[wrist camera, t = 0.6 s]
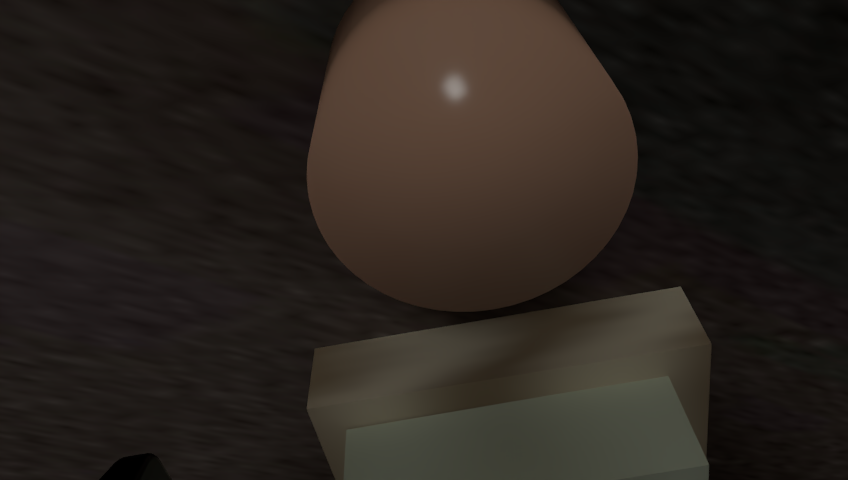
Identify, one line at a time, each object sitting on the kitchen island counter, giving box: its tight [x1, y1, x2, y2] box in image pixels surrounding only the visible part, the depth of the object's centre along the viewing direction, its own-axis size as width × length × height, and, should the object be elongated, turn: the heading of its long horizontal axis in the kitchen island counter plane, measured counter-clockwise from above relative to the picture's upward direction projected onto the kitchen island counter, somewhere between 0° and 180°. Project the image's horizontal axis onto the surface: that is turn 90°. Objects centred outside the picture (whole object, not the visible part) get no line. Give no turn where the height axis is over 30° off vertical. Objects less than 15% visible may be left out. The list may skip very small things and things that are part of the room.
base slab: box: [307, 287, 711, 480], centre depth 24 cm, size 11×11×3 cm
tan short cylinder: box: [307, 0, 638, 312], centre depth 15 cm, size 6×6×5 cm
